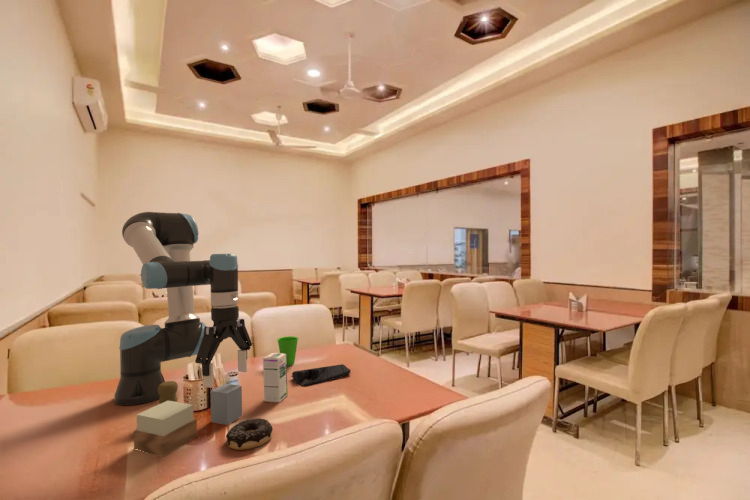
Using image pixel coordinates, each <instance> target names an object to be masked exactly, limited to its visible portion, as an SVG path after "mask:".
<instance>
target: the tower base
mask: <svg viewBox="0 0 750 500" xmlns="http://www.w3.org/2000/svg"><path fill="white" fill-rule="evenodd" d="M197 422H198V421H197V418H194V420H193V421H191V422H189V423H187V424H185V425H184V426H182V427H180V428H178V429H176V430H174V431H173V432H171V433H169V434H167V435H165V436H159V435H155V434H150V433H146V432H141V431H137V429H135V430H133V449H138V450H141V451H140V452H142V451H144V452H143V453H146V452H147V454H151V455H153V456H154V455H155V456H159V457H163V458H164V457H166V456H168V455H170V454H171V453H173V452H174V451H176V450H178V449H179V448H181V447H182V446H184V445H186V444H188V443H190V442H191V441H192V440H194V439H196V438H197V437H198V429H197V427H198V426H197ZM138 450H137V451H138Z"/></svg>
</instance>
